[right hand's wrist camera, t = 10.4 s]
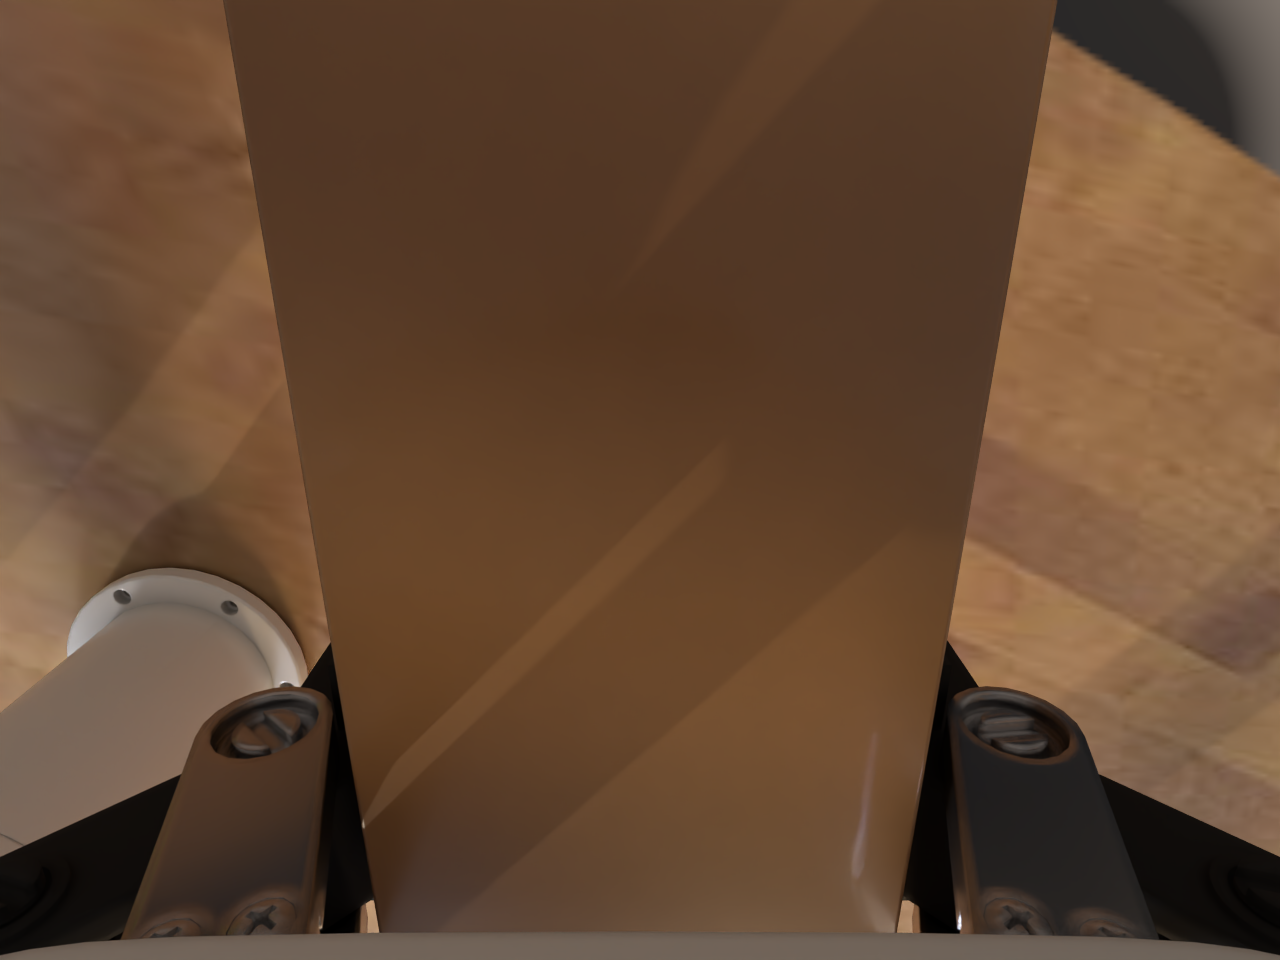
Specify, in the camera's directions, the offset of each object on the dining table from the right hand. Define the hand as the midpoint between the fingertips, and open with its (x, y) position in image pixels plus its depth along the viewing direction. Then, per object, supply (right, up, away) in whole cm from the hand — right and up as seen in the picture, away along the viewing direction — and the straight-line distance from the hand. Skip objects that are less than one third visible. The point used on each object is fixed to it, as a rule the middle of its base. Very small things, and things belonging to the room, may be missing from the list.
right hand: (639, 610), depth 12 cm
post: (0, -21, +11) cm, 24 cm away
